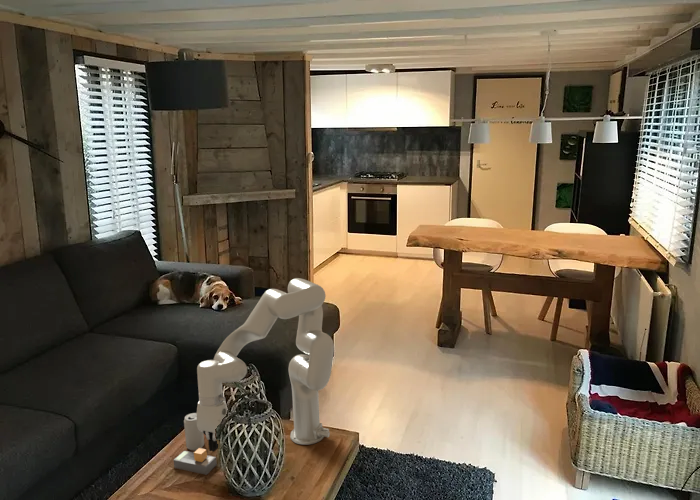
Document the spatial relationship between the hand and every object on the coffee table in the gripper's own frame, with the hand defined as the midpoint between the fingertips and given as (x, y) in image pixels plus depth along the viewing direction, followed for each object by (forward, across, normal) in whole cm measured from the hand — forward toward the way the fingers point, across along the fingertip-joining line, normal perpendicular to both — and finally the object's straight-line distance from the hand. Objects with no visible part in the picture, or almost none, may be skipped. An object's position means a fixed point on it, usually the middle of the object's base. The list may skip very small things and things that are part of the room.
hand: (214, 449), depth 189 cm
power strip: (+8, +8, -1) cm, 12 cm away
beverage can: (+9, +16, -11) cm, 21 cm away
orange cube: (+5, +6, -1) cm, 8 cm away
